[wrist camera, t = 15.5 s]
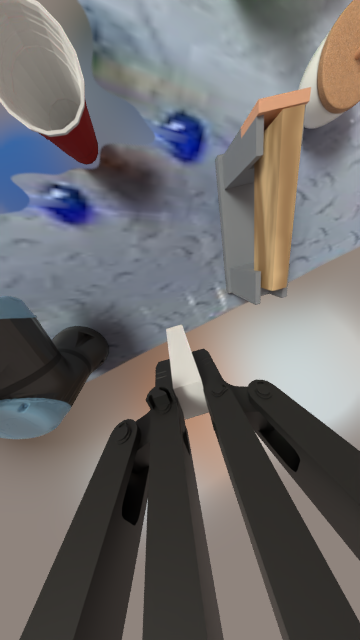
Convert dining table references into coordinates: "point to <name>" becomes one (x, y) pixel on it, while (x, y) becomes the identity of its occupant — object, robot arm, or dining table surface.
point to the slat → (276, 196)
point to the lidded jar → (334, 71)
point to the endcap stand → (247, 195)
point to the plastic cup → (44, 79)
